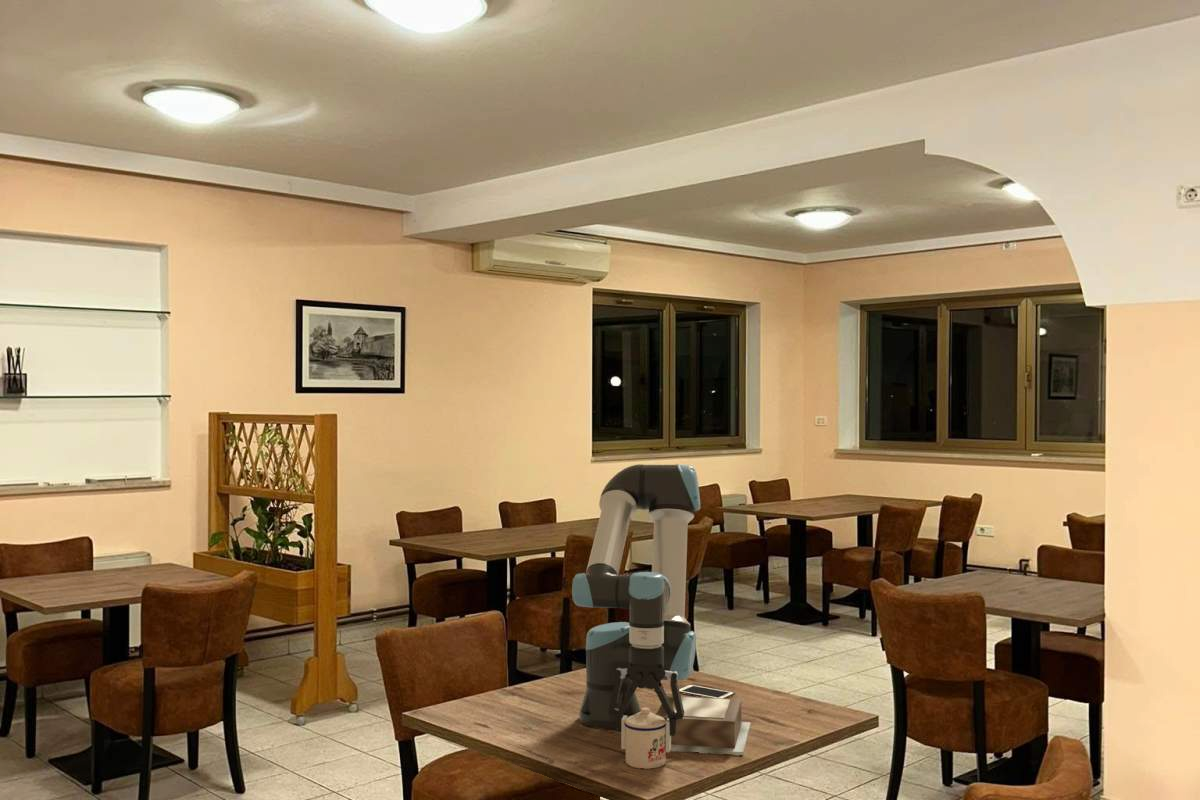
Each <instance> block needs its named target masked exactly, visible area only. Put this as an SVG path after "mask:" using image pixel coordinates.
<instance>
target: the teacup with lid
mask: <svg viewBox="0 0 1200 800" xmlns="http://www.w3.org/2000/svg"><path fill="white" fill-rule="evenodd" d="M640 709H641V712H639V713H637V714H635V715H632V716H630V717H628V718H627V719H626V720H625V722H624V725H625V733H626V748H625V763H626V764H627V765H628V766H629V767H632V768H634V769H635V768H636V769H640V768H644V770H650V769H651V768H652V769H655V768H656V769H657V768H660V767H662V766H664V765H665V763H666V758H667V757H666V756H667V755H666V753H667V752H666V747H665V726H666V721H665V719H664V718H663V717H661V716H658V715H656V714H655V713H653V712H651V709H650V708H649V707H642V708H641V707H640Z"/></svg>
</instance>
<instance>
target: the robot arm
mask: <svg viewBox="0 0 1200 800" xmlns="http://www.w3.org/2000/svg"><path fill="white" fill-rule="evenodd" d="M699 486H700V485H699V480H698V476H697V471H696V469H695V468H694V467H693V466H691V465H689V464H678V463H676V464H640V463H639V464H634V465H630V466H627V467H625V468H623V469H621V470H620V471H619V472H617V473H616V474H615V475H614V476H613V477H612V478H610V479H609V480H608V482H607V483H606V485H605V486H604V488H603V489H602V492H601V495H600V498H599V503H598V505H599V509H600V515H599V519H598V522H597V527H596V529H595V530H596V531H595V535H594V538H593V543H592V548H591V551H590V555H589V559H588V563H587V567H586V570H585V572H586V573H585V572H582V573H577V574H575V576H574V577H573V580H572V583H571V584H572V585H571V586H572V587H571V595H572V602H573V603H574V604H575V605H576V606H577V607H584V608H585V607H586V608H590V609H591V608H592V609H593V608H598V609H599V608H601V609H602V608H603V609H604V608H607V609H608V608H609V609H611V608H612V609H615V608H616V609H617V608H618V609H629V622H628V621H627V622H626V621H619V622H618V621H617V622H616V621H615V622H608V623H604V624H599V625H596V626H593V627H592V628H590V629H589V630H588V631H587V634H586V640H585V643H586V644H585V646H584V647H585V648H584V649H585V665H586V666H585V667H586V669H585V670H586V671H585V672H586V673H585V674H586V676H585V677H586V687H585V693H584V695H583V698H582V702H581V705H580V708H579V722H580V724H583V725H584V726H587V727H591V728H594V729H595V728H597V729H604V730H605V729H606V730H609V729H612V730H615V729H616V731H617V733H621V734H620V735H621V741H620V742H621V744H620V745H621V747H620V748H621V750H626V733H625V725H624V722H625V720H626V719H627V718H628V717H630V716H632V715H635V714H637V713H639V712H641V706H640V704H639V700H638V697H637V694H636V691H637V689H649V690H654V692H655V694H656V695H657V697H658V699H659V701H660V703H661V704H662V706H663V708H664V710H665V712H666V714H667V716H668V719H667V720H666V753H670V752H671V751H670V750H671V736H674V735H675V733H676V720H678V719H682V718H683V716H684V709H683V704H682V700H681V696H682V694H680V691H679V688H680V687H679V682H678V681H685V680H687V679H689V677H690V675H691V674H692V671H693V666H694V664H695V663H694V662H695V657H696V650H697V633H696V632H694V631H693V630H691V623H690V622H689V621H688V620H687V619H686V616H685V613H686V611H685V610H686V589H687V587H686V583H687V582H686V581H687V560H688V559H687V555H688V529H689V527H688V524H689V523H690V522H692V520H693V519H694V518H695V512H698V511H699V510H701V499H700V498H701V497H700V496H701V495H700V488H699ZM637 510H646V511H648V517H649V518H650V519H651V520H652V521H653V538H652V540H653V541H652V542H653V543H652V560H651V561H652V563H651V571H639V572H634V573H632V574H619V573H620V569H621V564H622V559H623V555H624V549H625V545H626V541H627V540H626V539H627V536H628V531H629V526H630V521H631V518H632V517H633V516H634V515H635V514H636V512H637ZM662 681H668V682H669V683H670V690H671V696H673V699H674V703H675V708H676V713H675V711H674V709H673V707H672V705H671V703H670V701H669V699H668V697H667V695H668V694H667V692H666V691H665V689H664V685H663V683H662Z"/></svg>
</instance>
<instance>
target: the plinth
mask: <svg viewBox="0 0 1200 800" xmlns="http://www.w3.org/2000/svg"><path fill="white" fill-rule="evenodd" d="M666 695H667V697H668V699H669V701H670V703H671V705H672V707H673V709H674V711H675V713H676V708H675V703H674V699H673V695H672V694H671V695H668V694H666ZM681 700H682V704H683V709H684V716H683V718H682V719H678V720H676V733H675V735H674V736H671V750H670V752H677V751H678V753H680V752H681V753H692V752H699V753H698V754H708V753H711V755H723V754H734V755H733V756H739V755H743V756H744V754H745V750H744V749H746V746H747V742H748V738H747V737H749V734H748V733H750V730H751V726H752V725H751V722H749V721H742V698H728V699H727V698H708V697H695V696H690V695H681ZM655 715H658V716H661V717H663V718H664V719H665V721H666V720H667V719H668V716H667V714H666V712H665V710H664V708H663V706H662V703H661V704H660V706H659V708H658V710H657V712H656V714H655ZM750 725H751V726H750ZM749 729H750V730H749ZM746 741H747V742H746ZM745 745H746V746H745ZM665 747H666V726H665ZM737 754H738V755H737Z"/></svg>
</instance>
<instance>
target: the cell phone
mask: <svg viewBox="0 0 1200 800" xmlns="http://www.w3.org/2000/svg"><path fill="white" fill-rule="evenodd" d="M679 691H680V693H686V694H690V695H695V696H699V697H708V698H728V697H730V696H733V695H735V696H736V693H735V692H733V691H729V690H725V689H719V688H712V687H707V686H702V685H697V684H687V685H684V686H682V687H679ZM690 695H689V696H690ZM695 696H694V697H695ZM733 697H734V696H733ZM730 698H731V697H730ZM728 699H729V698H728Z"/></svg>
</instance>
